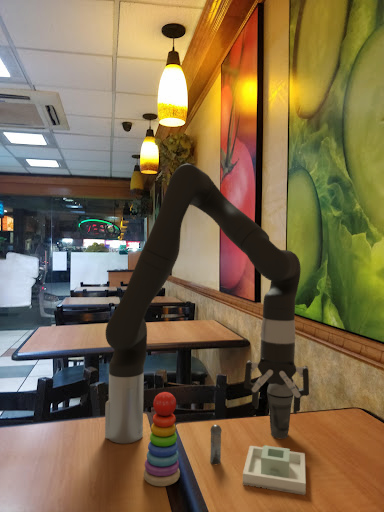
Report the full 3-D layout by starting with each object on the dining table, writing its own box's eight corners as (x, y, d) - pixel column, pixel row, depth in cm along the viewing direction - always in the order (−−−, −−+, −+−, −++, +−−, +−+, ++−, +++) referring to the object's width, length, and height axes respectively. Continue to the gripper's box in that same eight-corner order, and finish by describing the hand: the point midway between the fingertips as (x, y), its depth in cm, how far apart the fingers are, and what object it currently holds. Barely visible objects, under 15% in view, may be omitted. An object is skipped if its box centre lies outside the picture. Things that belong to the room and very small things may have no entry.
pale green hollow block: (263, 462, 94) (263, 445, 94) (289, 466, 92) (289, 448, 92) (260, 478, 87) (260, 460, 87) (288, 483, 85) (288, 464, 85)
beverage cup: (293, 442, 105) (295, 367, 105) (265, 439, 107) (266, 365, 106) (292, 430, 112) (293, 359, 112) (266, 427, 114) (267, 358, 114)
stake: (208, 463, 94) (209, 426, 94) (211, 458, 96) (211, 422, 96) (219, 465, 93) (220, 428, 93) (221, 459, 96) (222, 423, 96)
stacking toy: (165, 492, 82) (167, 402, 82) (136, 480, 86) (137, 394, 86) (186, 475, 89) (187, 391, 89) (158, 464, 93) (159, 384, 93)
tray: (242, 484, 86) (242, 473, 86) (249, 455, 98) (249, 445, 98) (305, 495, 82) (305, 483, 82) (304, 463, 95) (304, 453, 95)
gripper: (310, 337, 91) (308, 408, 92) (248, 332, 95) (246, 400, 95) (311, 345, 84) (308, 421, 84) (243, 338, 88) (241, 412, 88)
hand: (275, 410), depth 90 cm, fingers open, 8 cm apart
